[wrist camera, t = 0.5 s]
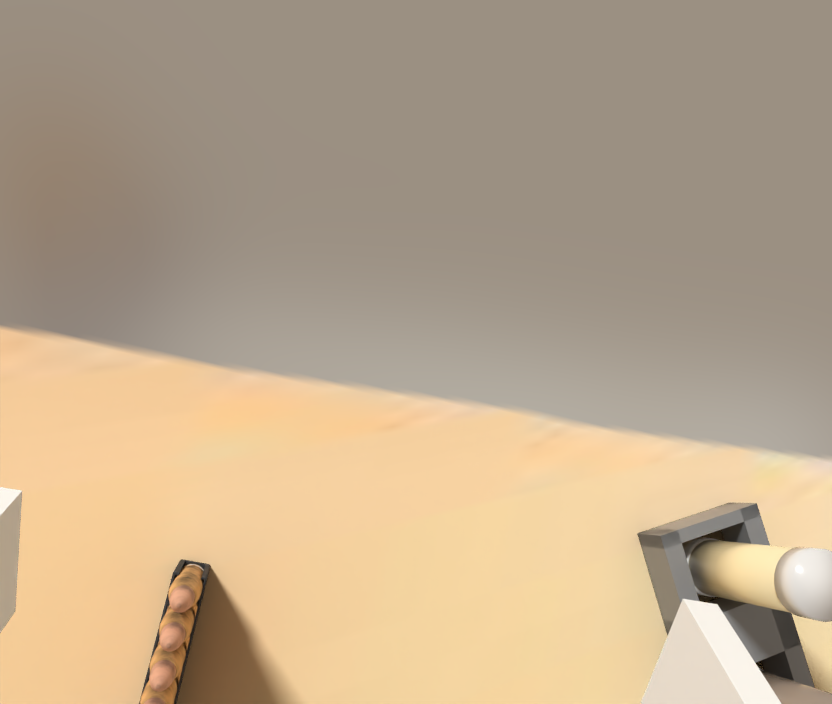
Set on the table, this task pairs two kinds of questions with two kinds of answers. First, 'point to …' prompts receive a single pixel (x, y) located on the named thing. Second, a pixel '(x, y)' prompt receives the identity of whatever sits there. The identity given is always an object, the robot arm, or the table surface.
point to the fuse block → (755, 625)
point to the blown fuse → (795, 691)
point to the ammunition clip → (175, 633)
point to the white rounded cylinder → (764, 575)
